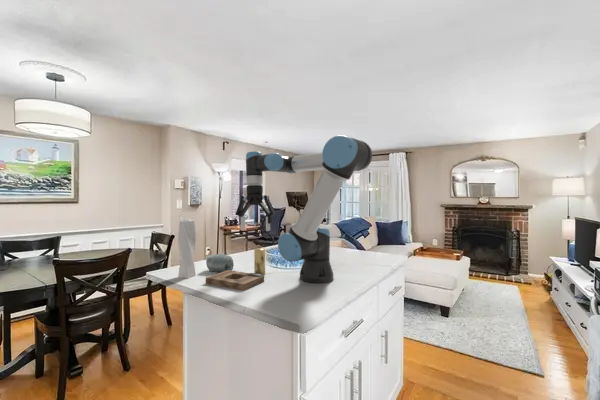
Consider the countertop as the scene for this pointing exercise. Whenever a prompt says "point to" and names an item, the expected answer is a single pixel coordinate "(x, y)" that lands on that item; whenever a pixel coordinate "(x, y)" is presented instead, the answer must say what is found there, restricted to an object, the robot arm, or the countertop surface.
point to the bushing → (259, 261)
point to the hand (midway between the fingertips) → (255, 230)
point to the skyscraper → (186, 247)
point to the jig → (235, 279)
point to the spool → (219, 263)
